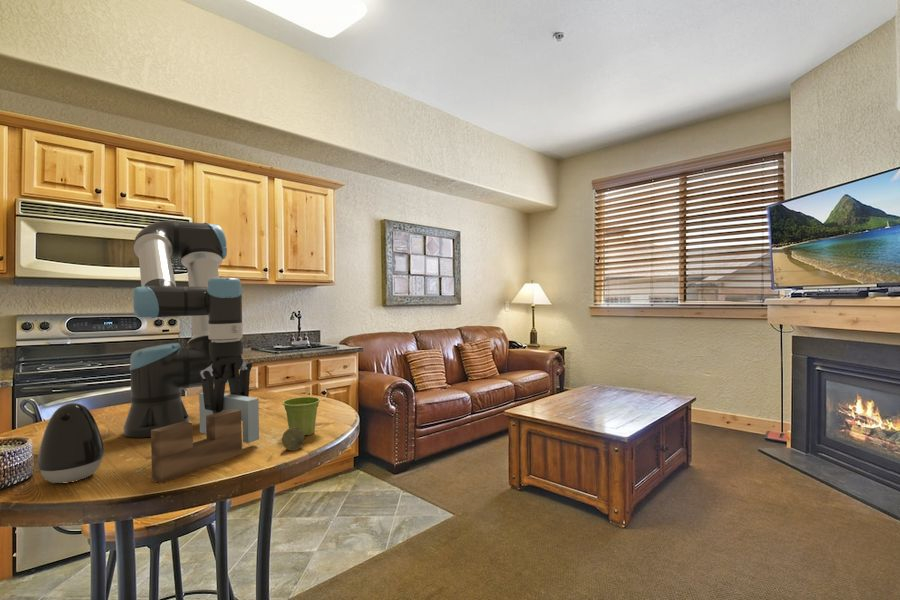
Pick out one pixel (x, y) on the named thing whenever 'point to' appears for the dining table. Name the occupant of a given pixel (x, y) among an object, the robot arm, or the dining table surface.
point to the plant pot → (302, 413)
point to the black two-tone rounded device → (70, 445)
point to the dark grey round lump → (293, 439)
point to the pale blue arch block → (248, 414)
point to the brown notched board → (195, 445)
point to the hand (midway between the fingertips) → (228, 434)
